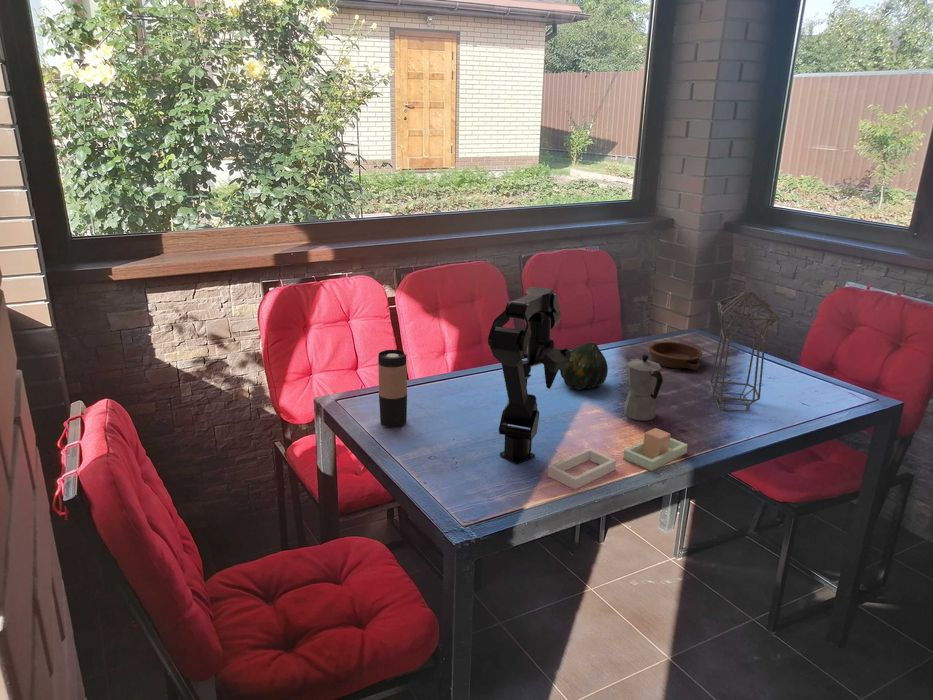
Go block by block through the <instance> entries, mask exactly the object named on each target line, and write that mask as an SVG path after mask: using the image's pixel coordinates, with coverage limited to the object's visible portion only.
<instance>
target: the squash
mask: <svg viewBox="0 0 933 700" xmlns="http://www.w3.org/2000/svg"><path fill="white" fill-rule="evenodd" d="M570 355H571V357H570V362H569V363H566V366H564V369H563V370H559V373H560V376H561V378H562V379H563V382H564V384H565V386H566V387H567V388H568V389H577V390H584V389H585V388H586V389H593V388H596V387H599V386H602V385H603V384H604V383H605V382H606V379H607V377H608V373H609V372H608V371H609V367H608V362H607V359H606V357H605V356H604V354H603V352H602V351H601V350H600V348H599V345H597V343H596V342H594V341H590V342H585V343H582V344H580V345H578V346H576V347H574V348H573V349H571V350H570Z"/></svg>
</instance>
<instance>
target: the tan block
mask: <svg viewBox="0 0 933 700" xmlns="http://www.w3.org/2000/svg"><path fill="white" fill-rule="evenodd" d="M643 437H644V438H643V441H644V445H643V455H645V456H648V457H650V458H652V459H654V458H656V457H658V456H660V455H662V454H664V453H666V452H668V451H669V443H670V438H671V433H670V432H667V431H664V430H662V429H660V428H656V427H654V428H652V429H650V430H648V431H646V432H644V435H643Z"/></svg>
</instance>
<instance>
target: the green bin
mask: <svg viewBox="0 0 933 700" xmlns="http://www.w3.org/2000/svg"><path fill="white" fill-rule="evenodd" d="M643 445H644V440H642V441H640V442H638V443H635V444H633V445H632V446H630V447H627V448H625V449H624V450H623V457H622V459H623V460H624V461H627V462H630V463H632V464H633V465H636V466H638V467H639V468H643V469H645V470H646V471H647V470H648V471H650V472H653V471H656V470H657V469H659V468H661V467H663V466H665V465H667V464H669V463H671V462H672V461H674V460H676V459H678V458H680V457H682V456H684V455H686V454H687V452H688V444H687V443H686V442H685V443H684V442H682V441H679V440H678V439H675V438H672V437H670V443H669V451H668V452H666V453H664V454H662V455H660V456H658V457H656V458H654V459H652V458H650V457H648V456H645V455H643Z"/></svg>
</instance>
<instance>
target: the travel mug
mask: <svg viewBox="0 0 933 700" xmlns="http://www.w3.org/2000/svg"><path fill="white" fill-rule="evenodd" d="M377 357H378V359H377V364H378V368H377V369H378V403H379V417H380V420H379V421H380V425H381V426H383V427H385V428H389V429H398V428H401V427H403V426H405V425H406V424H407V418H408V417H407V416H408V415H407V414H408V413H407V412H408V380H407V379H408V377H407V376H408V375H407V373H408V371H407V370H408V369H407V354H405V352H404V351H403V350H399V349H385V350H383V351H380V352H379V353H378V355H377Z"/></svg>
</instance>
